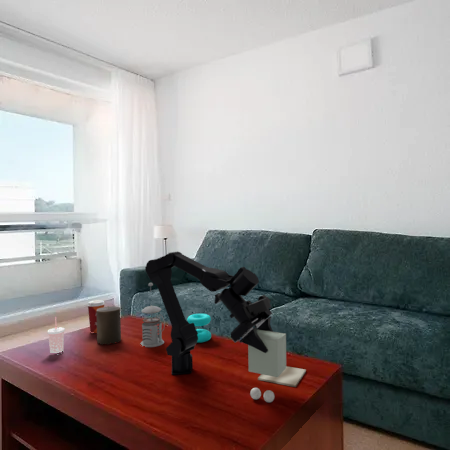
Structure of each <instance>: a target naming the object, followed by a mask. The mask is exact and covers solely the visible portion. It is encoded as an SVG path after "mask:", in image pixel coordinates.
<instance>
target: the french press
mask: <svg viewBox="0 0 450 450" xmlns="http://www.w3.org/2000/svg"><path fill="white" fill-rule="evenodd" d="M147 286H148V287H149V288H150V289H149V290H150V291H152V286H154V283H153V282H149V283H148V285H147ZM161 310H162V308H161V307H160V306H155V305H150V306H149V305H148V306H145V307H144V308H143V309H141V313H142V314H146V315H148V314H150V317H146V318H144V319H143V320H142V321H143V323H141V330H142V331H141V332H142V334H141V335H142V336H141V338H142V341H141V342H140V343H139V345H140V344H141V345H142V346H141V345H140V346H141V347H143V346H145V348H155V347H156V348H157V347H159V346H162V345H163V344H164V343H165V341H164V340H163V338H162V336H163V335H162V332H163V331H164V330H165V325H166V323H165V318H164V317H163V315H162V314H161V313H160V314H159V315H158V314H157V315H156V316H155V317H152V316H153V314H156V313H159V312H161ZM161 318H162V319H163V323H162V319H161ZM162 324H163V325H162ZM162 326H163V328H162Z"/></svg>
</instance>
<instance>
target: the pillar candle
mask: <svg viewBox="0 0 450 450" xmlns="http://www.w3.org/2000/svg"><path fill="white" fill-rule="evenodd" d="M121 321H122V320H121V307H120V306H109V305H108V306H104V307H103V308H99V309H97V334H96V341H97V344H99V343H100V345H103V344H107V345H111V344H110V343H113V344H116V343H115V342H117V343H119V342H121V340H122V330H121V329H122V328H121V326H122V325H121Z"/></svg>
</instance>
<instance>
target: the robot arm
mask: <svg viewBox="0 0 450 450" xmlns="http://www.w3.org/2000/svg"><path fill="white" fill-rule="evenodd" d="M174 267H176V268H178V269H179V270H181V271H182V272H184V273H187V274H188V275H190V276H192V277H194V278H195V279H197V280H198V281H199V282H200V284H201V285H202V287H204V288H205V289H207V290H208V291H209V292H212V293H214V292H218V291H220V290H221V292H218V293H216V294H214V304H215V305H216V304H219V303H222V305H223V306H224V307H226V309H227V310H228V312H229V313H230V315H229V318H230V319H233V318H234V319H235V320H236V321H237V323H238V325H237V326H236V327H235V328H234V329H233V330H232V331H231V332H230V338H231V340H232V341H233V343H237V342H238V341H239V343H243V344H245V345H247V346H248V345H250V346H252V347H254V348H256V349H258V350H260V351H262V352H264V353H266V352H268V349H267V348H266V346H265V344H264V343H263V341H262V340H261V339H260V337H259V336H258V334H257V330H265V331H271V332H274V330H273V329H272V325H271V321H272V320H271V319H272V315H273V312H272V311H271V310H270V309H271V308H272V305H271V302H272V301H271V299H269V297H268V296H267V295H265V294H263V295H260V296H258V298H257V301H255V302H251V300H246V299H245V298H244V296H245V297H246V296H247V295H248V294H249V293H250V292H252V290H253V289H254V288H255V287H256V286H257V285H258V284H259V282H260V281H259V278H258V276H257V275H256V273H254V272H252V270H250V269H247V268H246V267H245V266H242V267H241V266H240V268H239V269H237V272H236V273H235V274H234V275H232V274H229V273H228V272H227V271H226V270H222V269H220V268H216V267H215V268H213V267H209V266H206V265H204V264H202V263H200V262H198V261H196V260H194V259H193V258H190V257H188V256H186V255H184V254H183V253H182V252H181V251H173V252H172V251H171V252H168V253H166V254H165V255H164V256H160V257H159V258H155V259H150V260H148V261H147V262H146V265H145V273H146V274H147V277H148V278H149V281H151V283H153V285H155V286H156V288H157V290H158V291H159V294H160V298H161V301H162V302H163V305H164V308H165V311H166V314H167V316H168V319H169V321H170V325H171V330H170V339H171V342H170V343H169V345H168V346H167V347H166V348H165V351H166V354H167V356H171V375H174V376H175V375H187V374H192V372H193V371H192V370H193V367H194V365H193V354H192V353H191V351H193V350H195V348H196V347H195V346H196V345H197V340H198V336H197V334H198V332H197V331H196V329H197V328H196V326H195V325H194V323H189V322H188V321H187V319H186V317H185V315H184V312H183V309H182V307H181V303H180V302H179V298H178V296H177V293H176V291H175V288H174V285H173V283H172V274H173V271H172V269H173V268H174ZM227 287H228V288H227Z"/></svg>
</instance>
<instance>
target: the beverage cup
mask: <svg viewBox="0 0 450 450" xmlns="http://www.w3.org/2000/svg"><path fill="white" fill-rule="evenodd" d="M54 318H55V319H54V324H55V326H54V327H53V328H49V329H48V330H47V336H48V345H49V353H59V352H62V351H63V352H64V341H65V340H64V339H65V331H66V330H65V327H60V326H59V327H58V325H57V316H54Z"/></svg>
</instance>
